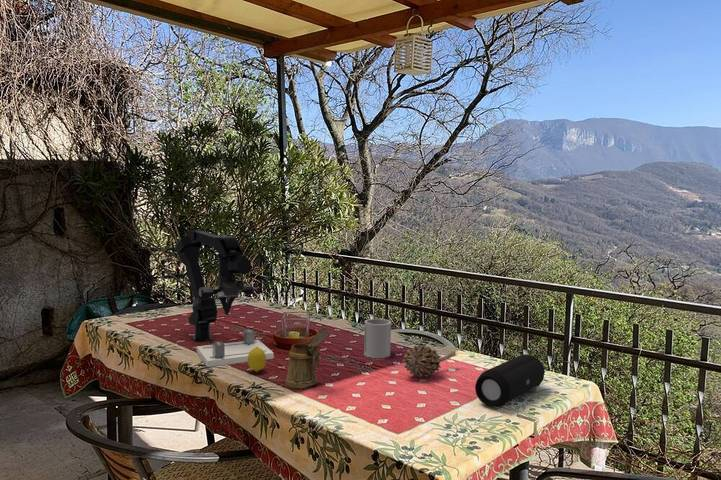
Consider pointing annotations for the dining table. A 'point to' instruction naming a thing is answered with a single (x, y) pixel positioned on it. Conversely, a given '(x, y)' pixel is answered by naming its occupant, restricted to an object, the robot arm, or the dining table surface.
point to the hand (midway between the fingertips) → (226, 314)
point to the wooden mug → (304, 362)
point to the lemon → (256, 359)
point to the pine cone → (424, 360)
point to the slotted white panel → (231, 353)
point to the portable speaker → (509, 380)
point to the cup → (377, 338)
